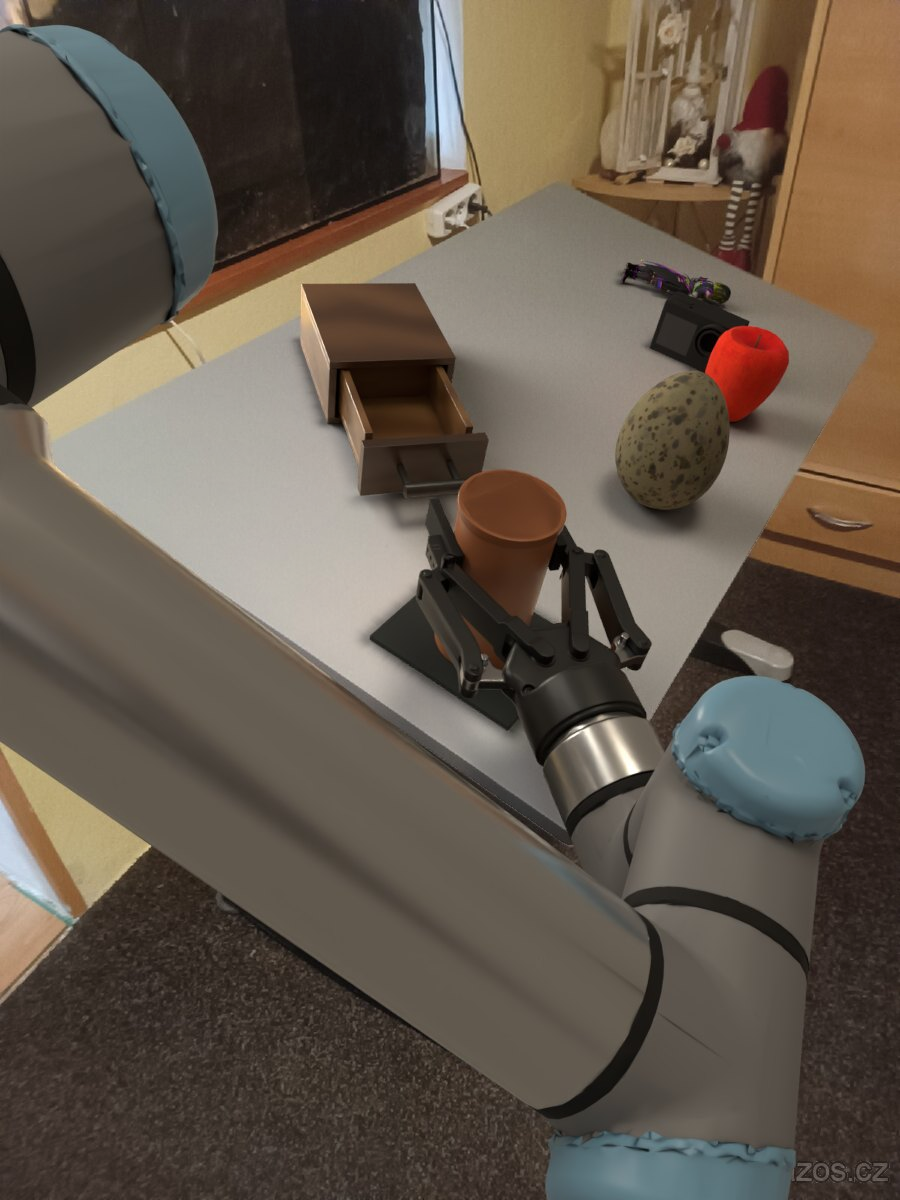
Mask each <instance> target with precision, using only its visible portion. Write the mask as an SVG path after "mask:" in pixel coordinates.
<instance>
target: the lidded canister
mask: <svg viewBox="0 0 900 1200" xmlns="http://www.w3.org/2000/svg"><path fill="white" fill-rule="evenodd" d="M456 511H457V513H456V518H455V523H454V529H453V532H454V535H455V537H456V540H457V542H458V544H459V546H460V548H461V551H462V553H463V555H464V557H463V562H462V567H461V569H462V570H464V571H465V572H466V573H467V574H468V575H469V576H470V577H471V578H472V579H473V580H474V581H475V582H476V583H477V584H478V585H479V586H480V587H481V588H482V589H483V590H484V591H485V592H487V593H488V594H489V595H490V596H491V597H492V598H493V599H494V600H495V601H496V602H497V603H498V604H499V605H500V606H501V607H502V608H503V609H504V610H505V611H506V612H507V613H509V614H510V615H511V616H518V617H519V618H520V619H521V620H522V621H523V622H525V623H526V624H527V625H528V626H530V622H531V619H532V616H533V613H534V612H535V610H536V606H537V603H538V600H539V598H540V594H541V590H542V588H543V584H544V582H545V579H546V575H547V571H548V570H549V568H548V565H549V562H550V559H551V556H552V553H553V550H554V546H555V543H556V540H557V537H558V536H559V535H560V533H561V532H562V530H563V527H564V525H565V523H566V521H567V516H568V515H567V514H568V513H567V507H566V503H565V501H564V500H563V498H562V496H561V495H560V493H558V491H557V490H556V489H555V488H554V487H552V486H551V485H550V484H549V483H547V482H545V481H544V480H542V479H540V478H539V477H537V476H534V475H532V474H529V473H526V472H523V471H519V470H512V469H502V468H501V469H500V468H499V469H489V470H484V471H482V472H480V473H478V474H475V475H473V476H472V477H470V478H469V479H467V480H466V481H465V482H464V483H463V485H462V486H461V488H460V490H459V493H457V498H456ZM461 616H462V615H461ZM462 618H463V619H464V621H465V623H466V624H467V626H468V627H469V629H470V631H471V632H472V634H473V636H474V637H475V639H476V641H477V643H478V645H479V648H480V651H481V654H483V653H485V654H487V655H488V656H489V660H490V661H491V663H492V665H493V666H494V667H495V668H497V669H501V670H503V668H504V665H505V664H504V663H503V662H502V661H501V660H500V659H499V658H498V657H497V656H496V655H495V653H494V650H493V647H492V645H491V644H490V643H489V642H488V641H487V640H486V639H485V638H484V637H483V636H482V635H481V634H480V633H479V632H478V631H477V630H476V629H475V628H474V627H473V626H472V625H471V624H470V623H469V622H468V621H467V620H466V619H465V618H464V617H463V616H462ZM435 641H436V644H437V646H438V648H439V650H440V652H441V653H442V654H443V655H444V656H445V657H446V658H447V659H448V660H449V661H450V662H452V661H451V660H450V658H449V656H448V655H447V653H446V651H445V649H444V648H443V646H442V644H441V642H440V641H439V639H438V637H437V635H436V634H435Z"/></svg>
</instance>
